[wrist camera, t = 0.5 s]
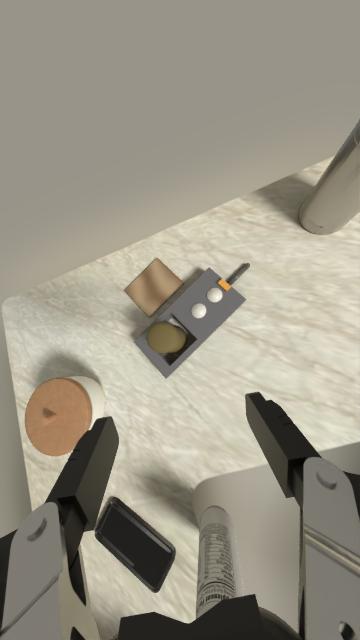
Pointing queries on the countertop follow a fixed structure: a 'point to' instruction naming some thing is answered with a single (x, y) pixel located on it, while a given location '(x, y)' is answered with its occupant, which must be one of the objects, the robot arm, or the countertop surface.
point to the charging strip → (197, 314)
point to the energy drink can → (217, 560)
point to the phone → (135, 544)
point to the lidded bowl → (63, 413)
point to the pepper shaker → (166, 338)
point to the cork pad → (154, 287)
